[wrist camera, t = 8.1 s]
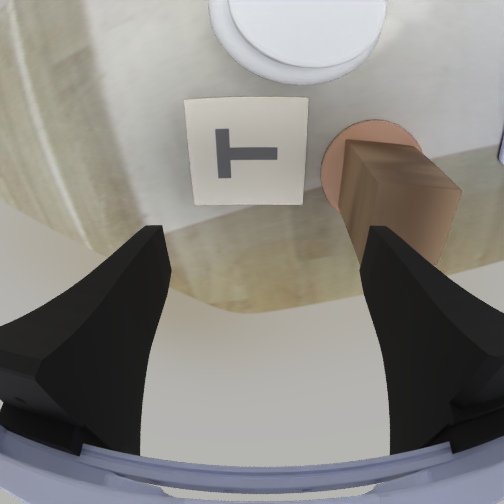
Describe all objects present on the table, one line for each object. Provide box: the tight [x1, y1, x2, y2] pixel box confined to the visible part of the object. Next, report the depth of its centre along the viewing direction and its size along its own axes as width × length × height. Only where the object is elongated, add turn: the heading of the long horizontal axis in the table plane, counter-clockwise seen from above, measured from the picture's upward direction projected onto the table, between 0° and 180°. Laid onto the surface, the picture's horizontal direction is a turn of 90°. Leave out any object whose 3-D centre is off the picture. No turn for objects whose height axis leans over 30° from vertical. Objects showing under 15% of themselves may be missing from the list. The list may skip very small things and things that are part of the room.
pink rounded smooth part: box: [321, 120, 423, 214], centre depth 19 cm, size 7×7×1 cm
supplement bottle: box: [209, 0, 387, 85], centre depth 10 cm, size 6×6×10 cm
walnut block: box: [338, 139, 462, 266], centre depth 16 cm, size 4×4×6 cm
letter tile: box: [184, 96, 308, 205], centre depth 19 cm, size 7×7×1 cm
